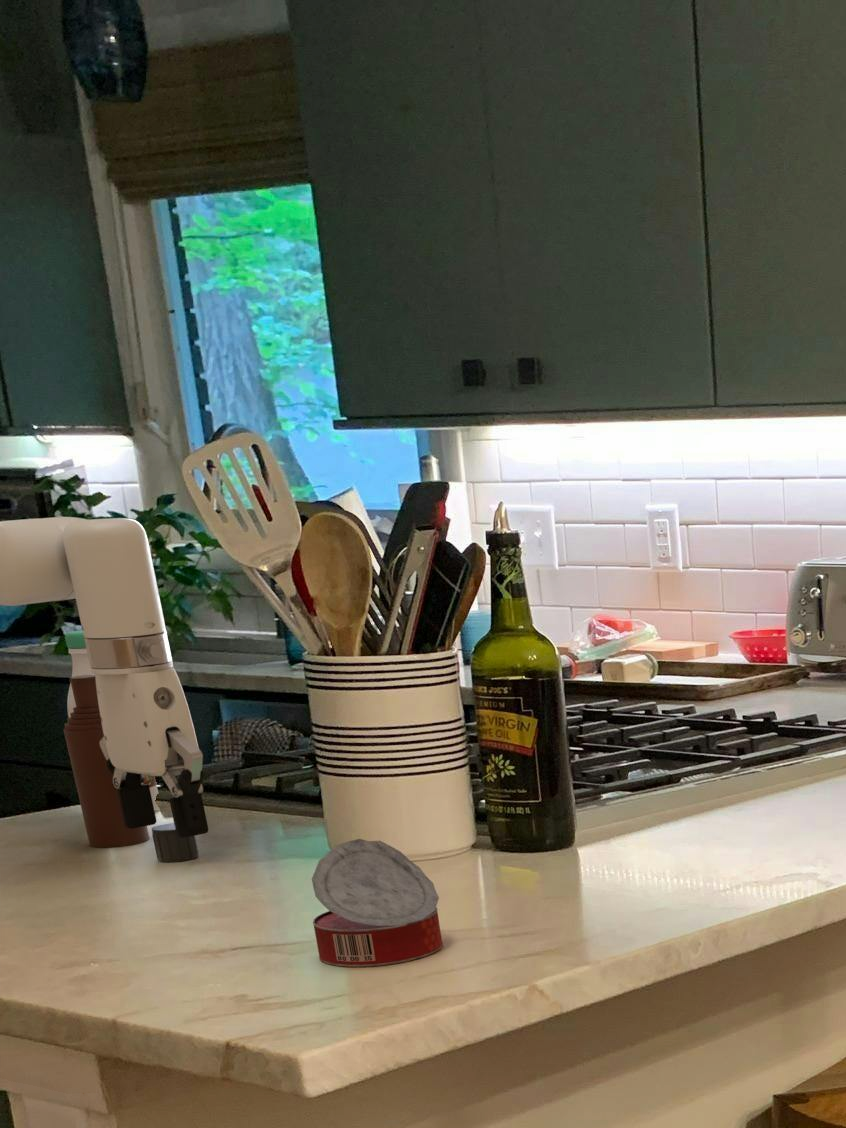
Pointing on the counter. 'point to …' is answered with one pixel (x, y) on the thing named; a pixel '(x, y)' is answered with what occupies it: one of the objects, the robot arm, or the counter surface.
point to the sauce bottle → (95, 771)
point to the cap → (173, 844)
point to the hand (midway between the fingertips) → (167, 830)
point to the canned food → (374, 907)
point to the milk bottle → (83, 667)
